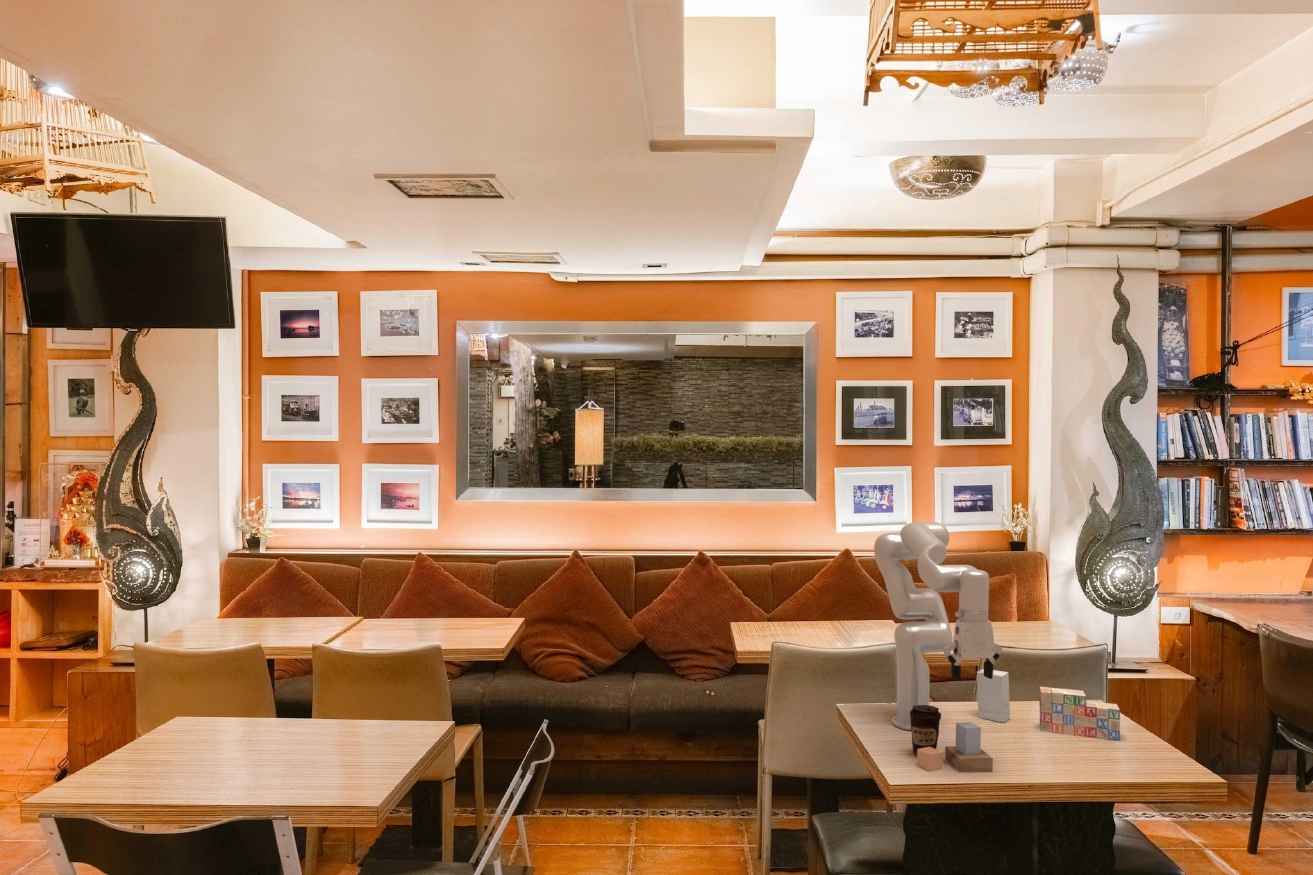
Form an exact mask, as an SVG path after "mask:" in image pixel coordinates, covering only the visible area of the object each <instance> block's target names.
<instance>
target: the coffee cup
mask: <svg viewBox="0 0 1313 875" xmlns="http://www.w3.org/2000/svg"><path fill="white" fill-rule="evenodd" d="M939 710H940V709H939V708H938V707H936V706H934V705H930V704H929V705H918V706H913V709H912V710H911V711H910V718H911V732H910V733H911V744H912V754H914V756H917V749H921V748H925V747H932V748H934V749H936V750H937V746H938V739H939V734H940V721H941V719H942V713H941V712H940V711H939Z"/></svg>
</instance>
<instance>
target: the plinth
mask: <svg viewBox="0 0 1313 875" xmlns="http://www.w3.org/2000/svg"><path fill="white" fill-rule="evenodd" d="M944 748H945V749H944V750H945V752H944V753H945V754H944V755H945V758H944V760H945V761H946V762H947V763H948V764H949V765H950V766H952V767H953V768H954V769H955V770H956V771H957V770H958V771H957V772H958V773H993V769H994V768H993V767H994V766H993V765H994V764H993V762H994V761H993V760H994V758H993V757H992V756H991V755H990V754H988V753H987V752H986V751H984V750H983V749H982V748H980V754H970V755H965V754H963V753H962V752H960V751H958V750H956V745H953V746H952V745H951V746H950V745H949V746H944Z"/></svg>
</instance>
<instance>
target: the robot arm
mask: <svg viewBox="0 0 1313 875" xmlns="http://www.w3.org/2000/svg"><path fill="white" fill-rule="evenodd" d="M949 542H950V533H949V530H948V529H947V527H946V526H945V525H944V524H943V523H941V522H937V521H935V522H934V521H933V522H932V521H921V522H919V521H917V522H914V521H913V522H908V523H907V524H905V525H904V526H902V528H901V530H900V531H899V532H887V533H883V534H881V535H878V537H877V538H876V539H875V542H874V546H873V549H874V550H873V553H874V559H875V562H876V566H878V570H879V571H880V573H881V575H882V577H883V579H884V582H885V587H886V591H887V594H888V598H889V603H890V606H891V609H892V613H893V615H894V616H895V617H896V618H898V619H900V620H922V621H906V622H902V623H900V624H898V625H897V626H896V628H895V629H894V633H893V634H894V642H895V643H894V644H895V649H896V650H895V651H896V660H897V661H896V662H897V665H896V667H897V669H896V670H897V672H896V676H897V677H896V679H897V681H896V682H897V683H896V684H897V685H896V686H897V687H896V688H897V690H896V705H895V706H893V710H894V711H896V716H895V715H894V716H893V717H892V718H891V724H892V725H893V726H895V727H896V728H899V729H902V730H906V731H911V718H910V711H911V710H912V709H913V706H918V705H930V667H929V664H928V662H927V661H926V659H925V658H924V656H923V654H933V653H934V654H935V653H943V654H944V655H945V658H946V660H947V661H948V662H949V664H951V665H950V666H951V667H950V672H951V678H952V679H953V680H956V681H958V682H959V681H961V677H962V676H961V675H962V674H961V672H962V667H961V665H960V664H961V663H962V661H963V660H985V661H983V669H984V676H985V677H987V678H989V679H992V678H993V670H994V665H995V664H996V661H997V660H998V659H999V657H1000V655H1001V653H1002V651H1003V647H1002V646H1000V645H999V644H997V643H995V638H994V636H995V635H994V631H993V630H994V629H993V625H992V621H991V620H989V602H990V601H989V600H990V597H989V596H990V577H989V576H990V575H989V573H988V571H985V570H981V569H978V568H976V567H975V566H973V565H969V564H942V563H943V562H944V561H945V559H946V557H947V555H948V554H947V553H948V549H947V547H948V545H949ZM900 560H917V564H916V566H917V572H918V575H919V578H920V579H921V580H922V582H923V583H924V584H925V585H926V586H927V587H926V588H923V587H922V588H920V587H919V588H918V587H916V585H915V583H914V580H913V576H912V574H911V572H910V571H909V569H908V568H907V566H905V565H904V564H903V563H901V562H900ZM939 593H958V611H954V612H955V613H954V616H955V617H956V618H958V619H956V622H955V627H954V631H953V632H952V629H951V625H950V622H949V618H948V614H947V610H946V607H945V604H944V601H943V599H942V596H941V595H940V594H939ZM923 620H925V621H923ZM952 653H953V654H952Z"/></svg>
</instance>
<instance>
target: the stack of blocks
mask: <svg viewBox="0 0 1313 875" xmlns="http://www.w3.org/2000/svg"><path fill="white" fill-rule="evenodd" d="M1038 700H1039V728H1040V732H1043V731H1047V732H1046V733H1052V734H1057V735H1058V734H1059V735H1067V736H1074V737H1075V736H1077V737H1085V738H1095V739H1101V740H1112V741H1117V740H1120V738H1121V710H1120V708H1119V705H1118V704H1117V703H1110V702H1109V703H1108V702H1107V703H1106V702H1100V701H1092V700H1091V701H1090V700H1087V696H1086V693H1085V692H1084V690H1078V689H1071V688H1069V689H1068V688H1057V687H1046V686H1039V699H1038ZM1120 741H1121V740H1120Z"/></svg>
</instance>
